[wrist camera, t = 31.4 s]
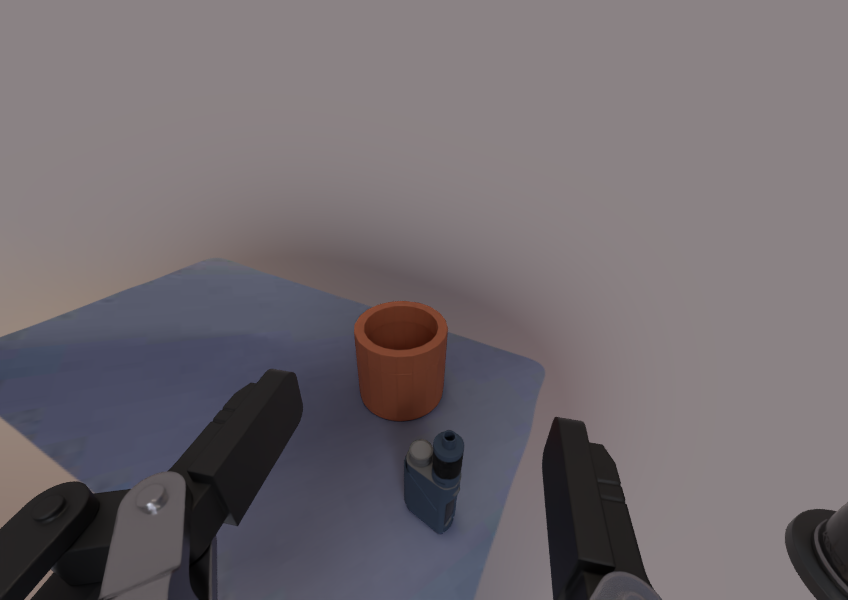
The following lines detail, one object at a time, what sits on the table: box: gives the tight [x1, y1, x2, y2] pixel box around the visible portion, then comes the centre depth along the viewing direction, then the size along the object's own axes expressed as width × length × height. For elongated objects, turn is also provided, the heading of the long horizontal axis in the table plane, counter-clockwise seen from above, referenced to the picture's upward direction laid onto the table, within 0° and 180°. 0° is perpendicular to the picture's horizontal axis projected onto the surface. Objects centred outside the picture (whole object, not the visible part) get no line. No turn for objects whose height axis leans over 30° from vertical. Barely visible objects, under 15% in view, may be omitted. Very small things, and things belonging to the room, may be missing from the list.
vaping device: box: [404, 430, 464, 534], centre depth 31 cm, size 3×5×12 cm, turn 53°
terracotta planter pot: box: [354, 301, 448, 421], centre depth 44 cm, size 11×11×10 cm
